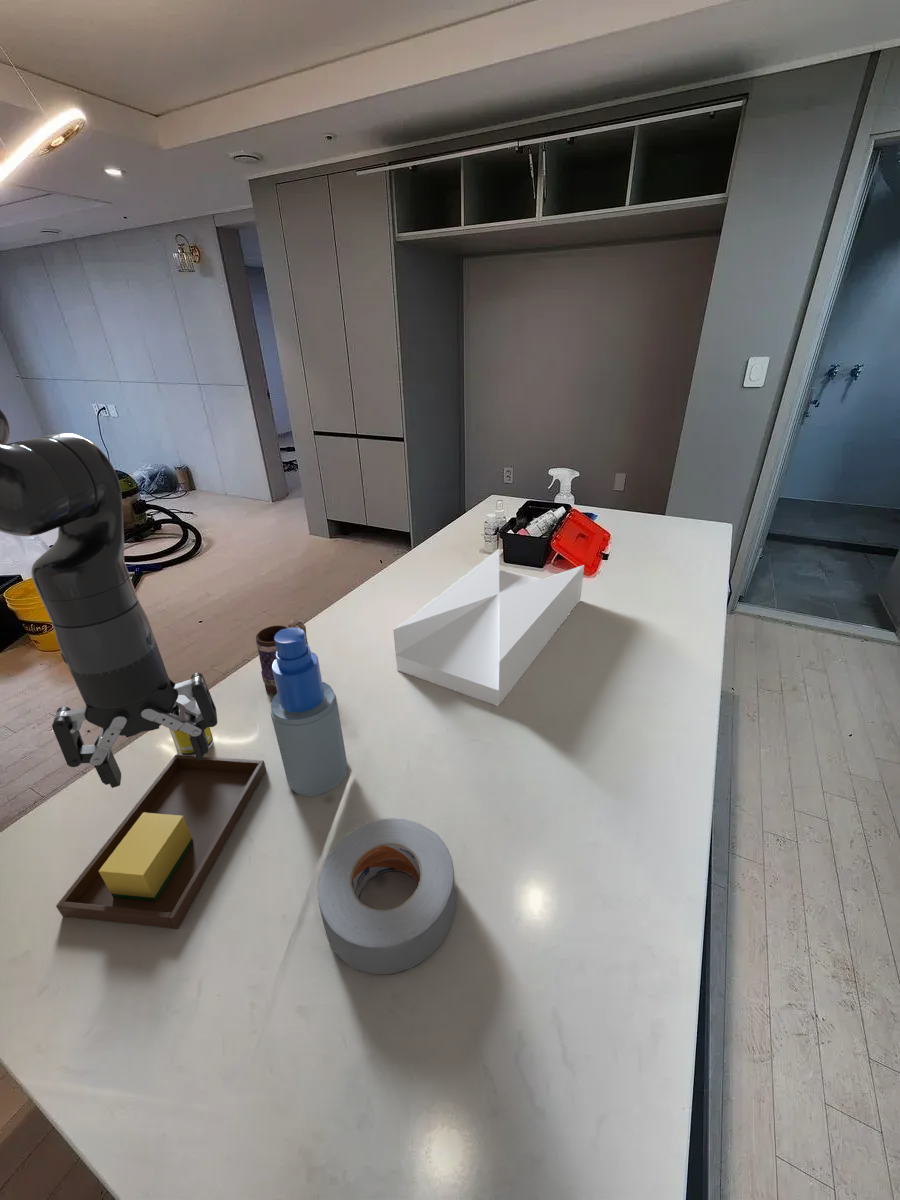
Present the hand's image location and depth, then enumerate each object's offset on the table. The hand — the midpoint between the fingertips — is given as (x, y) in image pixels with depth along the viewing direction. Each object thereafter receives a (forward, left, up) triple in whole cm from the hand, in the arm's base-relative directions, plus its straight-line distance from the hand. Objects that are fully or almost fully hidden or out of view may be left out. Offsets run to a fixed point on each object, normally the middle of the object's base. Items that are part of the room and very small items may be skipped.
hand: (160, 768), depth 58 cm
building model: (+37, +58, -16) cm, 70 cm away
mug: (-2, +37, -16) cm, 40 cm away
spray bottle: (+11, +15, -16) cm, 24 cm away
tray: (-4, +3, -16) cm, 17 cm away
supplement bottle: (-11, +19, -16) cm, 27 cm away
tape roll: (+26, -3, -16) cm, 31 cm away
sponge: (-4, -2, -15) cm, 16 cm away
